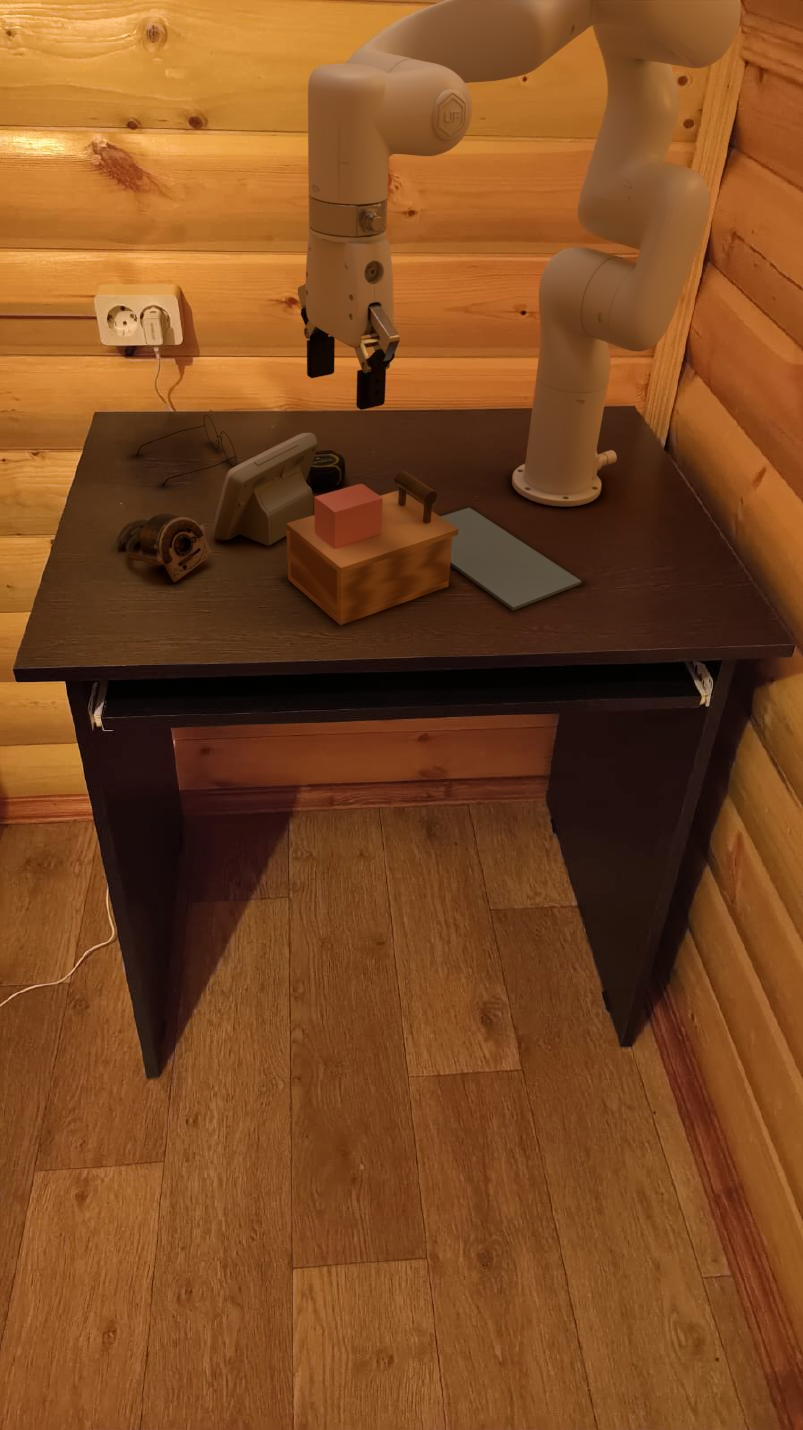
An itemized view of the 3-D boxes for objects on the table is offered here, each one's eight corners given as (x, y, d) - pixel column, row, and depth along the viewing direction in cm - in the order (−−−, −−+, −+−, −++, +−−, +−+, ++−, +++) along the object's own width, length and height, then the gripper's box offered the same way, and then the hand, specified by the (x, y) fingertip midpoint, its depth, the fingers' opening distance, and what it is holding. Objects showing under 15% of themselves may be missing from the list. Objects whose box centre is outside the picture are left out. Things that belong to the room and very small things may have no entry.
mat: (469, 510, 139) (469, 507, 138) (581, 584, 125) (581, 580, 125) (403, 531, 133) (403, 528, 133) (512, 610, 120) (513, 607, 120)
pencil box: (393, 545, 131) (395, 496, 126) (448, 586, 123) (452, 537, 119) (287, 579, 123) (286, 529, 119) (340, 625, 116) (340, 574, 112)
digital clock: (296, 493, 140) (294, 419, 133) (339, 518, 135) (339, 443, 129) (197, 530, 131) (189, 453, 125) (239, 559, 126) (233, 479, 120)
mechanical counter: (127, 555, 116) (209, 522, 118) (96, 497, 123) (173, 467, 125) (146, 601, 121) (224, 569, 123) (115, 542, 129) (189, 513, 131)
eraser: (361, 518, 120) (361, 482, 117) (381, 534, 117) (382, 497, 114) (314, 532, 117) (314, 496, 114) (334, 549, 114) (334, 512, 111)
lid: (400, 495, 127) (402, 457, 123) (458, 535, 120) (461, 496, 116) (286, 529, 119) (284, 489, 116) (340, 573, 112) (340, 533, 109)
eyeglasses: (164, 490, 139) (160, 455, 136) (133, 453, 148) (129, 420, 144) (240, 474, 144) (238, 440, 141) (206, 439, 152) (204, 407, 149)
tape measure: (334, 468, 147) (334, 444, 144) (352, 489, 142) (352, 464, 140) (289, 475, 144) (288, 450, 142) (306, 497, 140) (305, 471, 137)
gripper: (432, 234, 95) (421, 412, 105) (332, 193, 105) (331, 358, 116) (365, 243, 91) (360, 426, 102) (268, 200, 102) (273, 369, 113)
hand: (344, 390), depth 109 cm, fingers open, 9 cm apart
